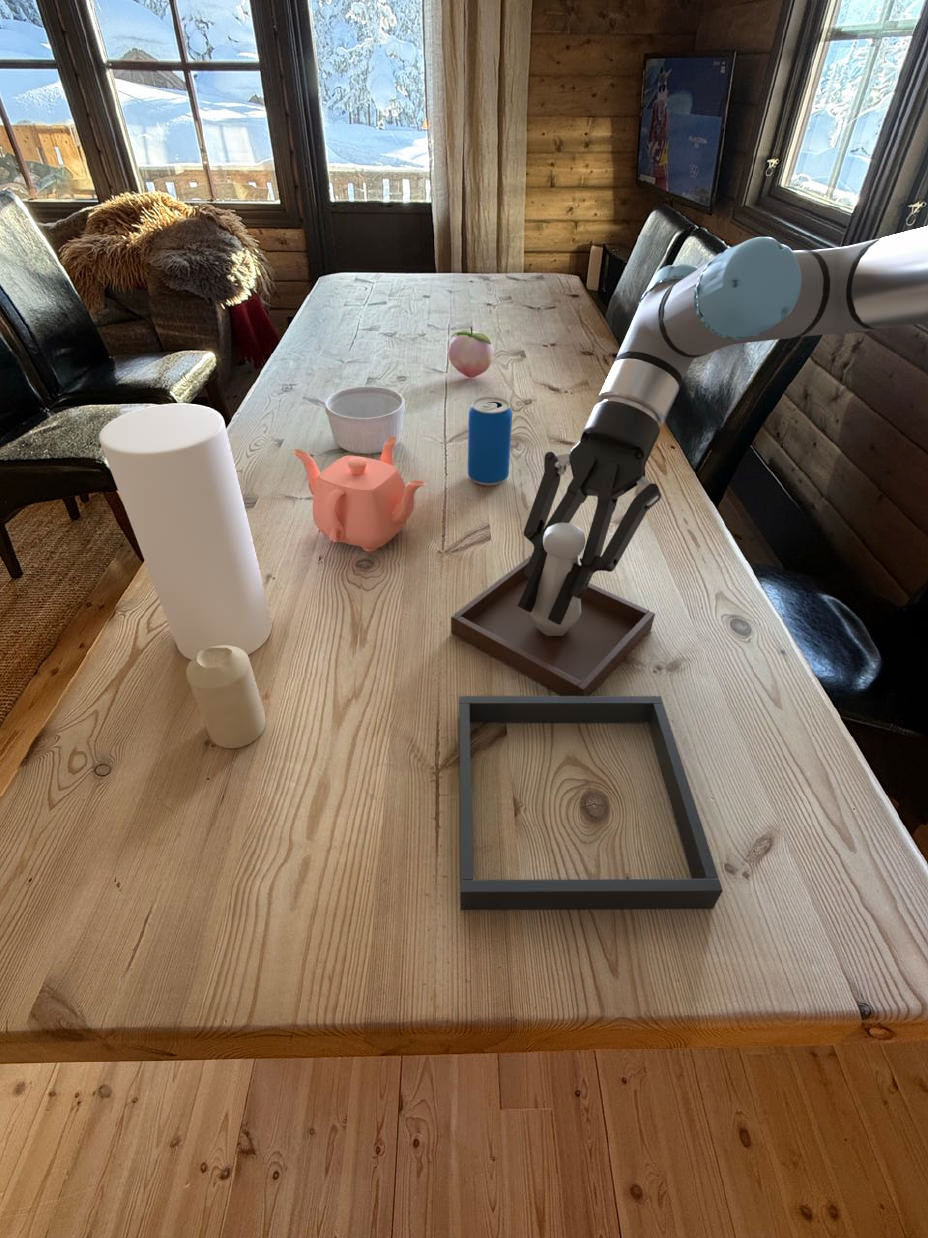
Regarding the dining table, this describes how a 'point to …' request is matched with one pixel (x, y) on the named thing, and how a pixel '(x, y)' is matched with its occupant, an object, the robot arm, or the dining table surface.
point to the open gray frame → (587, 891)
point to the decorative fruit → (470, 352)
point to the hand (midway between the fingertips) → (539, 615)
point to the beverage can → (489, 440)
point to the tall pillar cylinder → (190, 524)
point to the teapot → (360, 498)
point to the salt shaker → (557, 577)
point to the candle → (227, 695)
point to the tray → (553, 660)
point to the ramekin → (365, 418)
